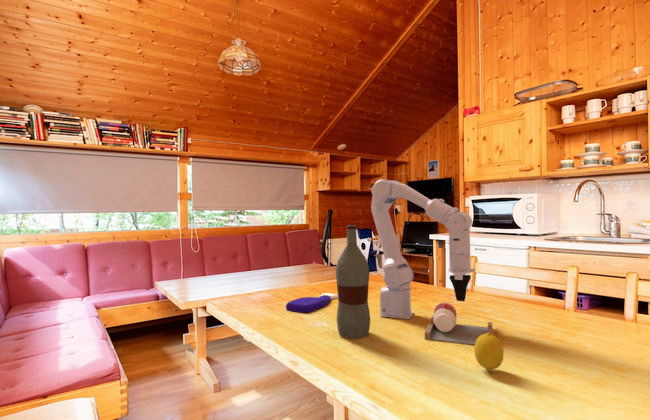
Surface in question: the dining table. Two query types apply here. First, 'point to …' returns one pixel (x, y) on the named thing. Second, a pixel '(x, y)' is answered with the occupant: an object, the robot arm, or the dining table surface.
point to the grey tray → (457, 333)
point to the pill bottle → (444, 317)
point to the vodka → (352, 290)
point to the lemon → (488, 351)
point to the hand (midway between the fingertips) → (460, 300)
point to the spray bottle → (310, 303)
